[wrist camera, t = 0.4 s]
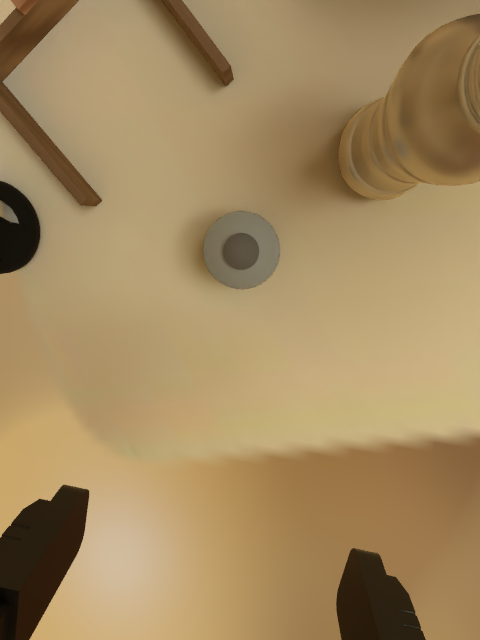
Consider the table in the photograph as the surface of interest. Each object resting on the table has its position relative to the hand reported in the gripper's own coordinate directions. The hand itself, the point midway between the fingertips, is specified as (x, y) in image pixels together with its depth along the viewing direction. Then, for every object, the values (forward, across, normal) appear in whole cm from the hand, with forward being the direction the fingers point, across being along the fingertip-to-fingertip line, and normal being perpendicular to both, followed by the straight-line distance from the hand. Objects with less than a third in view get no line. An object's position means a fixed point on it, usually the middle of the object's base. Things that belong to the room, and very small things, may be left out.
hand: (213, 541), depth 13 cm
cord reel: (+24, +2, -7) cm, 25 cm away
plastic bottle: (+25, -7, -15) cm, 30 cm away
